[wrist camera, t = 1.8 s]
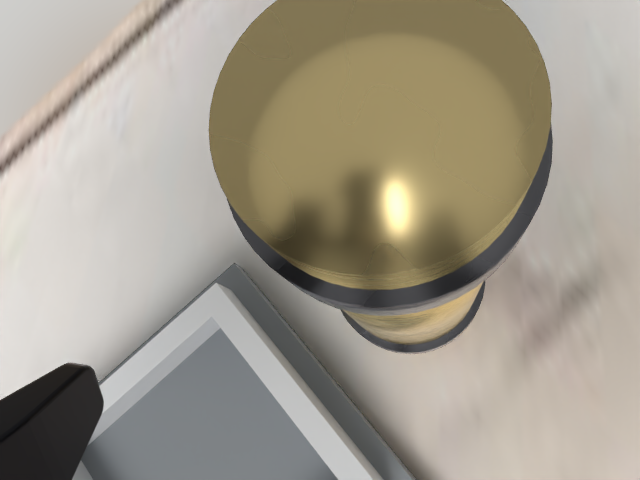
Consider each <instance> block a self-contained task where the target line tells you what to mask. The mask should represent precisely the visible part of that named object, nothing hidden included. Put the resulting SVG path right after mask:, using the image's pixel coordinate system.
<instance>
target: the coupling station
mask: <svg viewBox="0 0 640 480" xmlns="http://www.w3.org/2000/svg"><path fill="white" fill-rule="evenodd" d="M98 384H99V387H100V390H101V393H102V396H103V399H104V407H103V412H102V415H101V417H100V419H99V422H98V424H97V426H96V428H95V430H94V433H93V435H92V437H91V439H90V441H89V444H88V446H87V448H86V450H85V452H84V455H83V457H82V459H81V461H80V463H79V465H78V468H77V470H76V472H75V474H74V476H73V479H72V480H416V479H415V477H414V476H413V475H412V474H411V472H410V471H409V470H408V469H407V468H406V466H405V465H404V464H403V463H402V462H401V460H400V459H399V458H398V457H397V456H396V454H395V453H394V452H393V451H392V449H391V448H390V447H389V446H388V445H387V443H386V442H385V441H384V440H383V439H382V437H381V436H380V435H379V434H378V433H377V431H376V430H375V429H374V428H373V426H372V425H371V424H370V423H369V422H368V420H367V419H366V418H365V417H364V416H363V414H362V413H361V412H360V411H359V409H358V408H357V407H356V406H355V405H354V403H353V402H352V401H351V400H350V399H349V397H348V396H347V395H346V394H345V393H344V391H343V390H342V389H341V388H340V386H339V385H338V384H337V383H336V382H335V380H334V379H333V378H332V377H331V376H330V374H329V373H328V372H327V371H326V370H325V368H324V367H323V366H322V365H321V363H320V362H319V361H318V360H317V359H316V357H315V356H314V355H313V354H312V353H311V351H310V350H309V349H308V348H307V347H306V345H305V344H304V343H303V342H302V340H301V339H300V338H299V337H298V336H297V334H296V333H295V332H294V331H293V330H292V328H291V327H290V326H289V325H288V324H287V322H286V321H285V320H284V319H283V317H282V316H281V315H280V314H279V313H278V311H277V310H276V309H275V308H274V307H273V305H272V304H271V303H270V302H269V300H268V299H267V298H266V297H265V296H264V294H263V293H262V292H261V291H260V290H259V288H258V287H257V286H256V285H255V284H254V282H253V281H252V280H251V279H250V277H249V276H248V275H247V274H246V273H245V271H244V270H243V269H242V268H241V267H240V266H238V265H237V264H235V263H234V264H233V265H231V266H230V267H229V268H228V269H227V270H226V271H225V272H224V273H222V274H221V275H220V276H219V277H218V278H217V279H216V280H215V281H213V282H212V283H211V284H210V285H209V286H208V287H207V288H206V289H204V290H203V291H202V292H201V293H200V294H199V295H198V296H196V297H195V298H194V299H193V300H192V301H191V302H190V303H189V304H187V305H186V306H185V307H184V308H183V309H182V310H181V311H180V312H178V313H177V314H176V315H175V316H174V317H173V318H172V319H170V320H169V321H168V322H167V323H166V324H165V325H164V326H163V327H161V328H160V329H159V330H158V331H157V332H156V333H155V334H154V335H152V336H151V337H150V338H149V339H148V340H147V341H146V342H145V343H143V344H142V345H141V346H140V347H139V348H138V349H137V350H135V351H134V352H133V353H132V354H131V355H130V356H129V357H128V358H126V359H125V360H124V361H123V362H122V363H121V364H120V365H119V366H117V367H116V368H115V369H114V370H113V371H112V372H111V373H110V374H108V375H107V376H106V377H105V378H104V379H103V380H102V381H100V382H99V383H98Z"/></svg>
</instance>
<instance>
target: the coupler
mask: <svg viewBox="0 0 640 480" xmlns="http://www.w3.org/2000/svg"><path fill="white" fill-rule="evenodd" d="M551 107H552V102H551V92H550V82H549V78H548V75H547V71H546V67H545V63H544V60H543V58H542V56H541V53H540V51H539V48H538V46H537V44H536V42H535V40H534V39H533V37H532V35H531V34H530V32H529V31H528V29H527V27H526V26H525V24H524V23H523V22H522V21H521V20H520V18H519V17H518V16H517V15H516V14H515V13H514V11H513V10H512V9H511V8H510V7H509V6H507V5H506V4H505V3H504V2H503V1H502V0H277V1H276V2H274V3H273V4H272V5H271V6H269V7H268V8H267V9H266V10H265V11H264V12H263V13H262V14H261V15H260V16H258V17H257V18H256V19H255V20H254V21H253V22H252V23H251V25H250V26H249V27H248V28H247V30H246V31H245V32H244V33H243V34H242V36H241V37H240V38H239V40H238V41H237V43H236V44H235V46H234V48H233V49H232V51H231V52H230V54H229V56H228V58H227V60H226V62H225V64H224V66H223V68H222V70H221V72H220V75H219V78H218V81H217V84H216V87H215V90H214V93H213V98H212V103H211V108H210V119H209V140H210V151H211V155H212V160H213V165H214V169H215V172H216V174H217V177H218V180H219V183H220V185H221V188H222V189H223V191H224V193H225V195H226V197H227V200H228V203H229V206H230V209H231V211H232V214H233V217H234V219H235V221H236V223H237V225H238V227H239V228H240V230H241V232H242V234H243V236H244V237H245V239H246V240H247V241H248V243H249V244H250V245H251V247H252V248H253V249H254V251H255V252H256V253H257V254H258V255H259V256H260V257H261V258H262V259H263V260H264V261H265V262H266V263H267V264H268V265H269V266H270V267H271V268H272V269H274V270H275V271H276V272H277V273H279V274H280V275H281V276H283V277H284V278H285V279H287V280H288V281H289V282H291V283H292V284H293V285H295V286H296V287H297V288H299V289H300V290H301V291H303V292H304V293H306V294H308V295H310V296H311V297H313V298H315V299H317V300H318V301H321V302H323V303H325V304H328V305H330V306H333V307H335V308H338V309H341V311H342V313H343V315H344V316H345V318H346V319H347V321H348V322H349V323H350V325H351V326H352V327H353V328H354V329H355V330H356V331H357V332H358V333H359V334H360V335H362V336H363V337H364V338H366V339H367V340H368V341H370V342H371V343H373V344H375V345H377V346H378V347H381V348H383V349H386V350H388V351H392V352H396V353H403V354H418V353H426V352H429V351H433V350H436V349H438V348H441V347H443V346H445V345H447V344H448V343H450V342H452V341H453V340H454V339H455V338H457V337H458V336H459V335H460V334H461V333H462V332H463V331H464V330H465V329H466V328H467V327H468V325H469V324H470V322H471V321H472V319H473V318H474V316H475V314H476V312H477V310H478V309H479V306H480V303H481V301H482V298H483V293H484V288H485V280H486V279H487V278H488V277H490V276H491V275H492V274H493V273H494V272H495V271H496V270H497V269H498V268H499V267H500V266H501V265H502V264H503V262H504V261H505V260H506V259H507V258H508V256H509V255H510V253H511V252H512V251H513V249H514V248H515V247H516V245H517V244H518V242H519V240H520V239H521V237H522V235H523V234H524V232H525V230H526V229H527V227H528V225H529V224H530V222H531V220H532V218H533V216H534V214H535V212H536V211H537V209H538V207H539V205H540V202H541V199H542V197H543V194H544V191H545V188H546V186H547V182H548V177H549V172H550V167H551V162H552V143H553V141H552V130H551Z"/></svg>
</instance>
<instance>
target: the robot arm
mask: <svg viewBox="0 0 640 480" xmlns="http://www.w3.org/2000/svg"><path fill="white" fill-rule="evenodd" d="M103 407H104V399H103V396H102V393H101V390H100V387H99V384H98V381H97V378H96V375H95V372H94V370H93V368H91V367H90V366H88V365H83V364H76V363H66V364H64V365H62V366H60V367H58V368H56V369H55V370H53V371H51V372H49V373H47V374H46V375H44V376H42V377H40V378H39V379H37V380H35V381H33V382H32V383H30V384H28V385H26V386H24V387H23V388H21V389H19V390H17V391H16V392H14V393H12V394H10V395H8V396H7V397H5V398H3V399H1V400H0V480H72V479H73V476H74V474H75V472H76V470H77V468H78V465H79V463H80V461H81V459H82V457H83V455H84V452H85V450H86V448H87V446H88V444H89V441H90V439H91V437H92V435H93V433H94V430H95V428H96V426H97V424H98V422H99V419H100V417H101V415H102V412H103Z"/></svg>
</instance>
